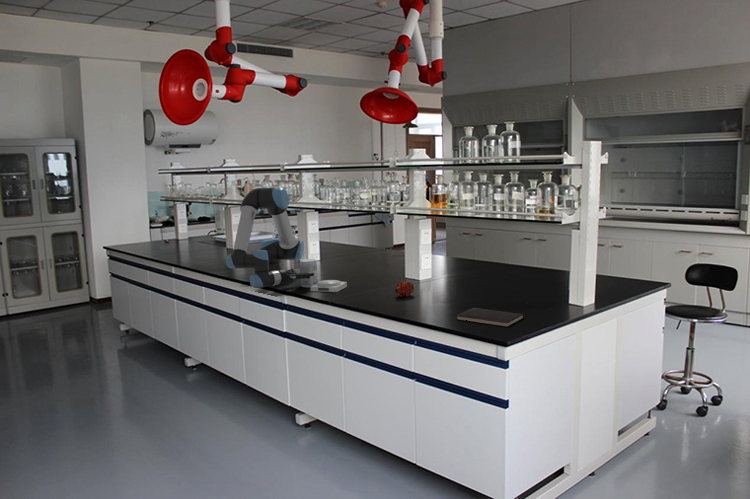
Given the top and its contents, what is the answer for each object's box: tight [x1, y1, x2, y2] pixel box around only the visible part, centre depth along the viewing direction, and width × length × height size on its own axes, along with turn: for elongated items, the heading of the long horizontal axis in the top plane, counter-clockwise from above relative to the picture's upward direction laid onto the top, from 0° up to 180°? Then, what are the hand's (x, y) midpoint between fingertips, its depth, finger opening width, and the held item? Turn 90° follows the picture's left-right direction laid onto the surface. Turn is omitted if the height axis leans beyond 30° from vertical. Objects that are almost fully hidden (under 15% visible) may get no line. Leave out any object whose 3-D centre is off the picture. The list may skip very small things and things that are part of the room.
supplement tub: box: [299, 258, 319, 288], centre depth 329 cm, size 10×10×15 cm
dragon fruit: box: [394, 280, 415, 298], centre depth 296 cm, size 8×8×12 cm
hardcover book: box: [455, 307, 524, 327], centre depth 248 cm, size 16×23×2 cm
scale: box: [309, 279, 348, 293], centre depth 320 cm, size 15×15×4 cm
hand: (310, 271), depth 329 cm, fingers open, 13 cm apart
